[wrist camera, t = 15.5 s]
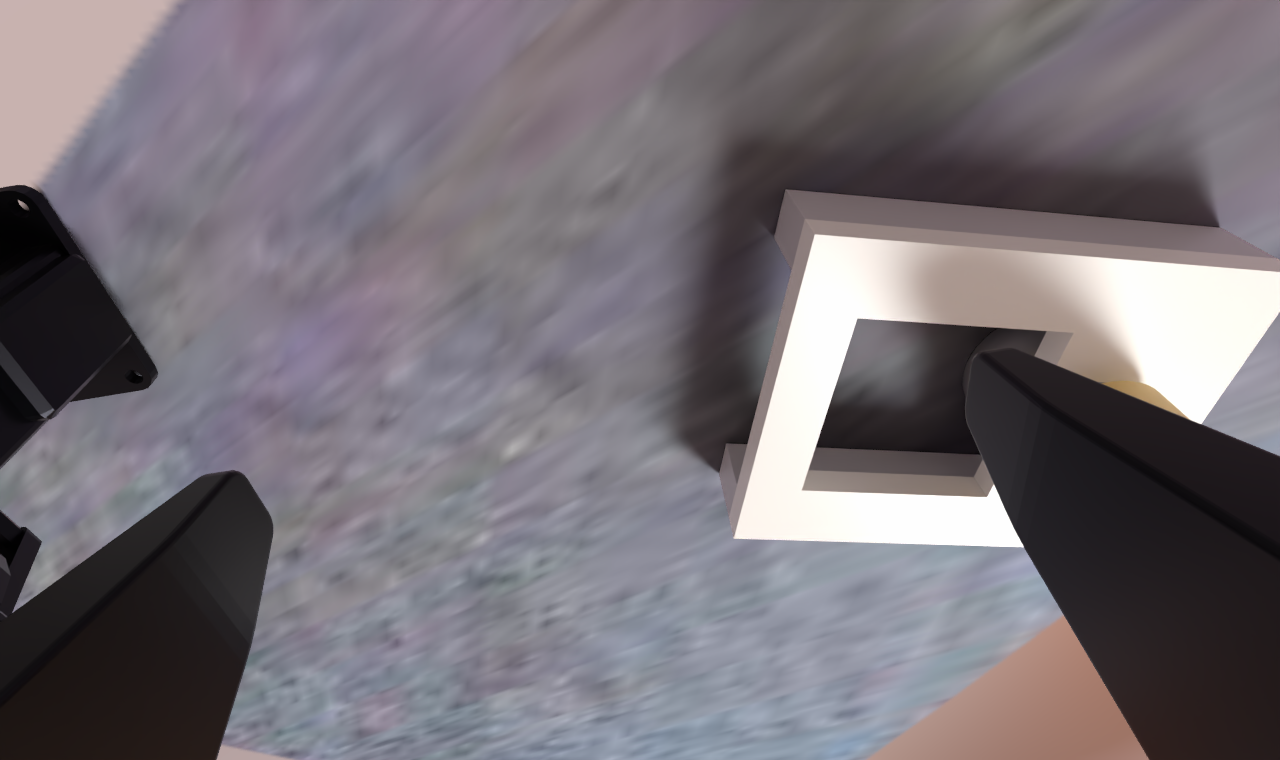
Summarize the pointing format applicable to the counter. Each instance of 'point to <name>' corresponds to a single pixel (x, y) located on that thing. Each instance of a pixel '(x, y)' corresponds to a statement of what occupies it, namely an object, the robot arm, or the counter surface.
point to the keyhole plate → (987, 297)
